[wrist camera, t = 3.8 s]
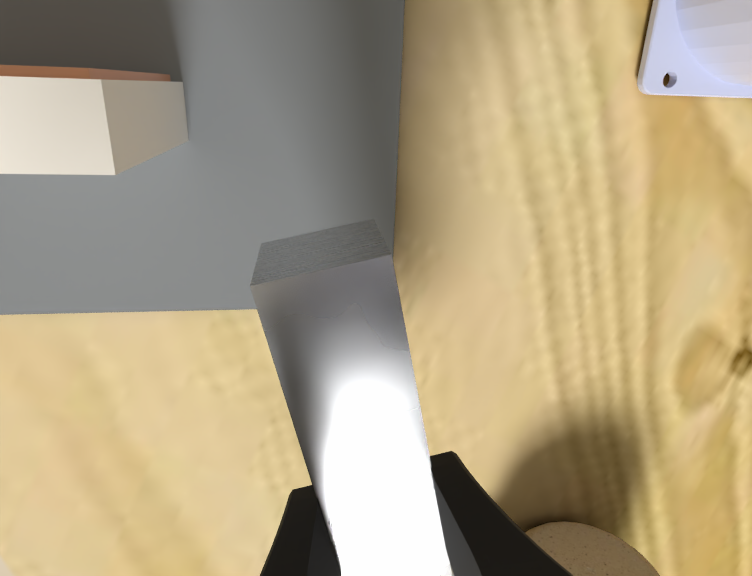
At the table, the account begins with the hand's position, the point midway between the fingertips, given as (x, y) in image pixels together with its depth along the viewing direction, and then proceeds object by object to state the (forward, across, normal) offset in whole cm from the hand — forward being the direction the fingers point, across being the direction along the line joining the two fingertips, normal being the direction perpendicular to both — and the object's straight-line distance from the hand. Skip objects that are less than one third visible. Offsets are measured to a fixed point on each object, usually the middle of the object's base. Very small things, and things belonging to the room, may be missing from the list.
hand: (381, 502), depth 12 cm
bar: (+2, 0, 0) cm, 2 cm away
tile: (+9, +7, -10) cm, 15 cm away
